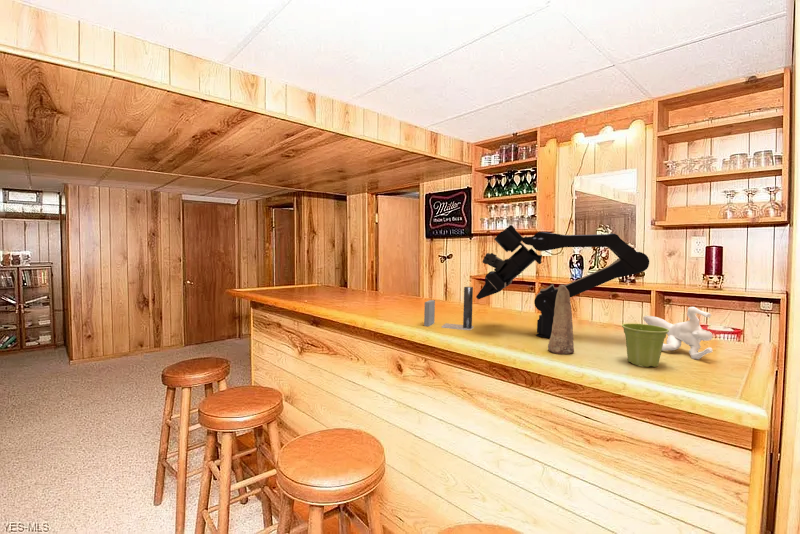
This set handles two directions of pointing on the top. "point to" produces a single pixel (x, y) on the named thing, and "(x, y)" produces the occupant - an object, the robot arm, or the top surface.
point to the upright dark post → (465, 312)
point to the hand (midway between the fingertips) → (480, 296)
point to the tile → (429, 313)
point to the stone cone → (562, 324)
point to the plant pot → (644, 343)
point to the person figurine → (684, 332)
